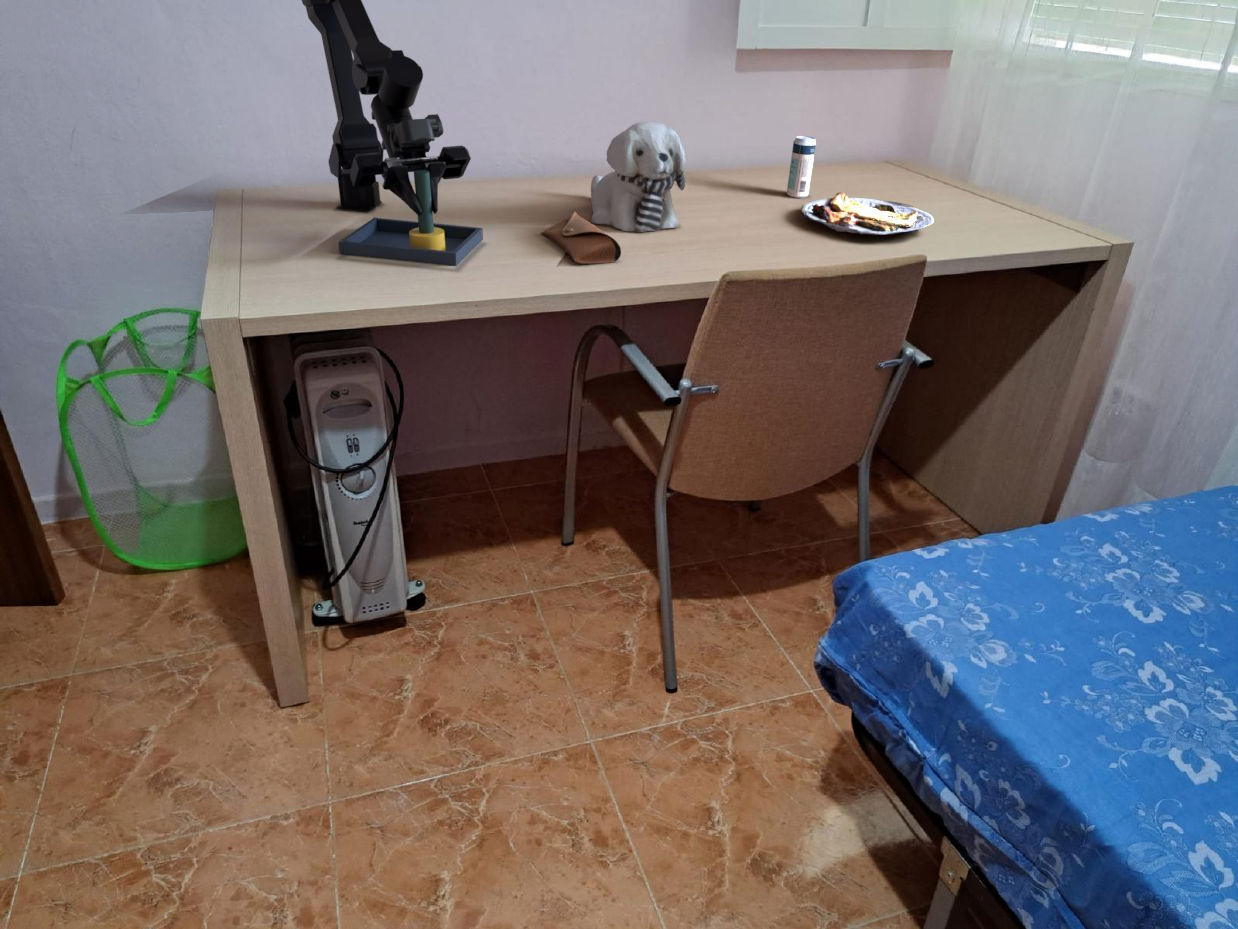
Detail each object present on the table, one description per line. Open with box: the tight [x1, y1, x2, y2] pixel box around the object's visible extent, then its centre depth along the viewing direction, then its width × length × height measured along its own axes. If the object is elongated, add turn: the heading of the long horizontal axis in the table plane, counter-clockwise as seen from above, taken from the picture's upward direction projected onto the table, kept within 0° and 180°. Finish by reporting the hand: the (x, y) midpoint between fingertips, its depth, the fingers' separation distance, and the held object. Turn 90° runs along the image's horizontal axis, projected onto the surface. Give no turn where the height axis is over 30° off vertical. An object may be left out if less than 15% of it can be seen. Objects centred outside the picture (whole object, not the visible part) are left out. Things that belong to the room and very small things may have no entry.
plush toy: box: [590, 121, 687, 233], centre depth 170 cm, size 18×25×18 cm
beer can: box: [786, 135, 817, 199], centre depth 192 cm, size 5×5×12 cm
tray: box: [338, 217, 484, 267], centre depth 151 cm, size 20×15×3 cm
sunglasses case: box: [540, 211, 622, 265], centre depth 156 cm, size 18×7×7 cm
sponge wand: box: [409, 170, 446, 251], centre depth 145 cm, size 6×6×13 cm
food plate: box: [800, 192, 934, 236], centre depth 177 cm, size 25×23×4 cm
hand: (427, 213), depth 144 cm, fingers closed on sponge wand, 2 cm apart
